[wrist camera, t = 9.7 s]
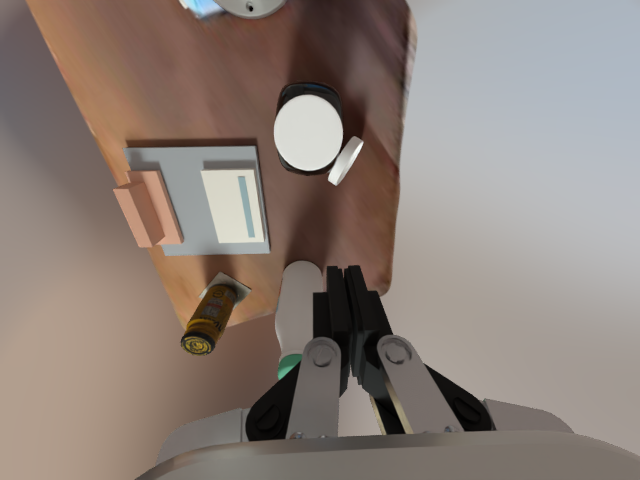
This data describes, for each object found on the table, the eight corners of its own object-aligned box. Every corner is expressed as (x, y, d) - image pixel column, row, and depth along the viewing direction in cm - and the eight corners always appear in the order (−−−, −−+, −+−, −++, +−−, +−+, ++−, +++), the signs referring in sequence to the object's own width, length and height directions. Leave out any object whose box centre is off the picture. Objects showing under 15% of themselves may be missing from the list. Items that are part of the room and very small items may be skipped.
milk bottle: (287, 255, 43) (269, 353, 25) (326, 263, 44) (336, 362, 26) (279, 286, 46) (259, 391, 29) (316, 293, 48) (318, 397, 30)
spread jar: (282, 84, 30) (266, 68, 20) (367, 91, 31) (394, 80, 20) (283, 176, 36) (271, 201, 26) (354, 180, 36) (370, 206, 26)
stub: (129, 170, 33) (105, 177, 30) (159, 170, 33) (140, 177, 30) (158, 242, 39) (141, 255, 35) (184, 241, 39) (170, 254, 35)
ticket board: (127, 147, 33) (115, 149, 31) (256, 145, 33) (252, 147, 31) (168, 252, 42) (161, 259, 40) (270, 250, 42) (268, 257, 40)
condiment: (199, 296, 47) (166, 348, 37) (220, 270, 44) (191, 319, 34) (230, 312, 50) (208, 365, 39) (252, 289, 47) (234, 340, 36)
